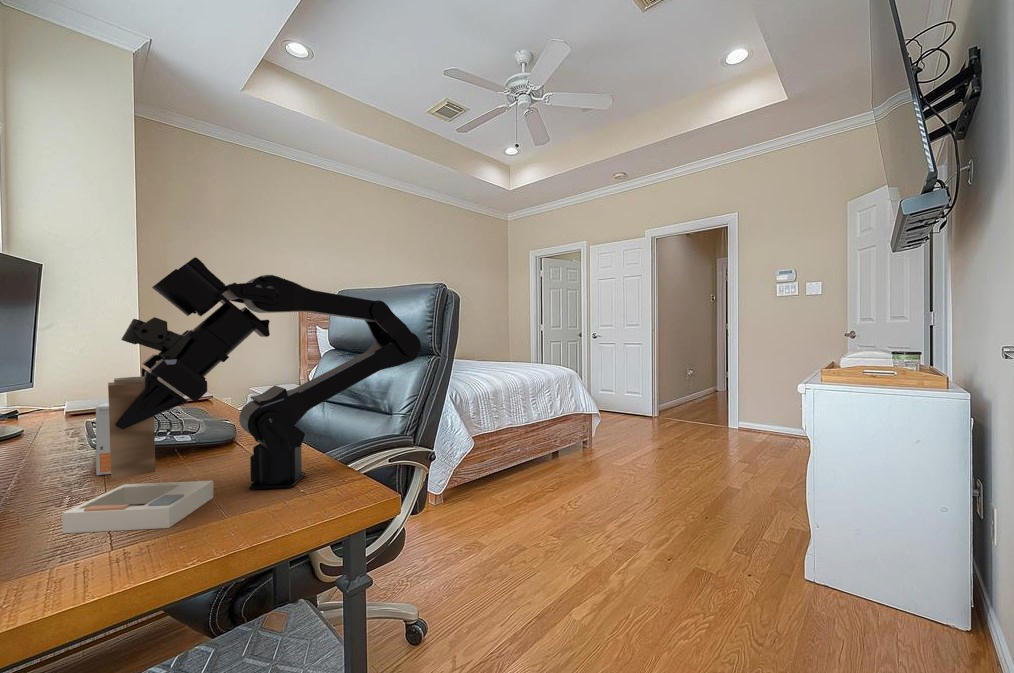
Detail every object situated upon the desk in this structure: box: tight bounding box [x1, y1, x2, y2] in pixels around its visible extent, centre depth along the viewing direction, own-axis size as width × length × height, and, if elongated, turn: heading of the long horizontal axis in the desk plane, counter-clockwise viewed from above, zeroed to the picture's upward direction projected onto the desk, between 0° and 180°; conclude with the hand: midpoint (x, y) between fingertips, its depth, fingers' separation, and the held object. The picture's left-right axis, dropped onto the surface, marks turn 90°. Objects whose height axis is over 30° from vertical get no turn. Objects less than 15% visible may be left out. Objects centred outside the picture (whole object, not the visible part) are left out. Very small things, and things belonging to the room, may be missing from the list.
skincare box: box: [95, 402, 111, 476], centre depth 77 cm, size 6×4×12 cm
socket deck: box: [61, 480, 214, 534], centre depth 59 cm, size 12×10×3 cm
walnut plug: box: [107, 375, 156, 480], centre depth 58 cm, size 4×4×13 cm
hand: (118, 424), depth 58 cm, fingers closed on walnut plug, 4 cm apart
